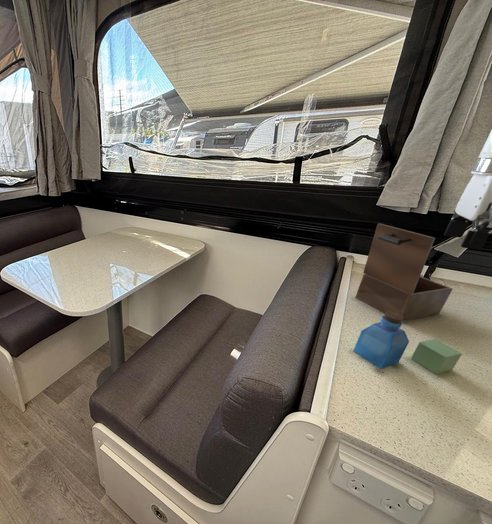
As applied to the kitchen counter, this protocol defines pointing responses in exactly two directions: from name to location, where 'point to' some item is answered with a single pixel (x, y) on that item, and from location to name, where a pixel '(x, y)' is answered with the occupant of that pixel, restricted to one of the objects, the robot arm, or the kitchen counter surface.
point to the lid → (398, 257)
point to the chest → (404, 297)
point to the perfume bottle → (383, 341)
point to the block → (436, 356)
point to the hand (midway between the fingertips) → (460, 241)
